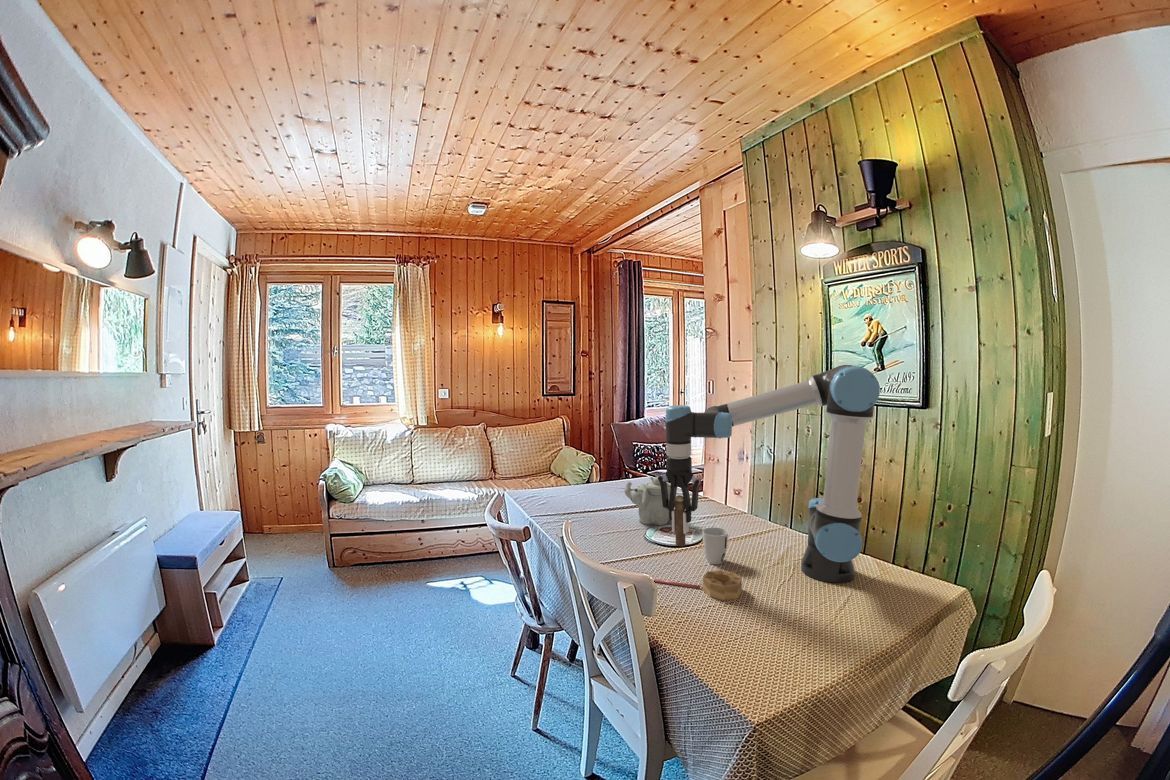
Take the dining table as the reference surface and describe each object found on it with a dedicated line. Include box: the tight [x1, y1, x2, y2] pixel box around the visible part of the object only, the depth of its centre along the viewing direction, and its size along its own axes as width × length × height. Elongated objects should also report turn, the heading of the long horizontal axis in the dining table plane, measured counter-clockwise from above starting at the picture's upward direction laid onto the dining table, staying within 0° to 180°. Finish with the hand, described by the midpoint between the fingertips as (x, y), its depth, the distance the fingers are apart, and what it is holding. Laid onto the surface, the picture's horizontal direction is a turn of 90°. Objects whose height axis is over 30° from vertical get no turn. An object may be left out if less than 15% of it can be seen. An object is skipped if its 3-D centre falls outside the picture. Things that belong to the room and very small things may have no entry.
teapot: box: [623, 475, 671, 526], centre depth 214 cm, size 16×15×19 cm
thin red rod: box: [653, 578, 701, 589], centre depth 158 cm, size 14×1×1 cm, turn 70°
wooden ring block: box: [702, 569, 743, 601], centre depth 153 cm, size 10×10×4 cm
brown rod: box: [674, 494, 686, 547], centre depth 164 cm, size 3×3×15 cm
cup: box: [702, 527, 729, 565], centre depth 174 cm, size 8×8×10 cm
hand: (680, 531), depth 164 cm, fingers closed on brown rod, 3 cm apart
